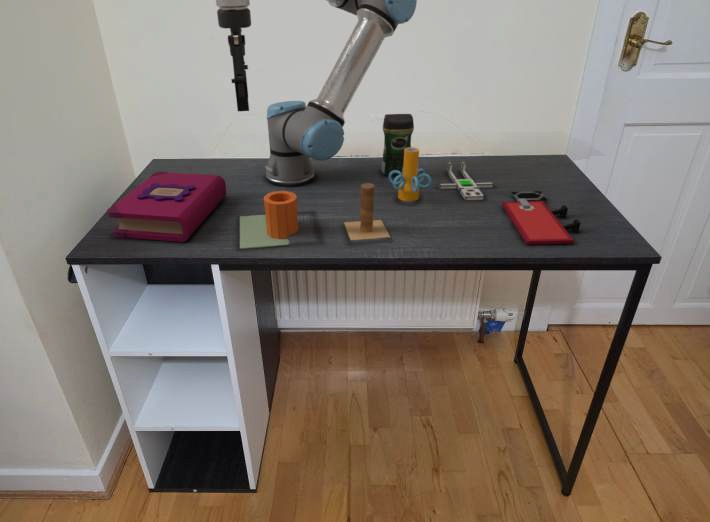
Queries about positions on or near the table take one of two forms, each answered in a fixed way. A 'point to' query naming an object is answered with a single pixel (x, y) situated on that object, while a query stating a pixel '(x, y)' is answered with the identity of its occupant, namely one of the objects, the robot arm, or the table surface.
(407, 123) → the coffee jar
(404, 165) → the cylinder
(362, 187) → the peg stand
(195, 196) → the book
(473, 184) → the robot figure
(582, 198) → the table surface
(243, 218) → the mat
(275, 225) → the orange hollow tube
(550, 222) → the red board with handle
